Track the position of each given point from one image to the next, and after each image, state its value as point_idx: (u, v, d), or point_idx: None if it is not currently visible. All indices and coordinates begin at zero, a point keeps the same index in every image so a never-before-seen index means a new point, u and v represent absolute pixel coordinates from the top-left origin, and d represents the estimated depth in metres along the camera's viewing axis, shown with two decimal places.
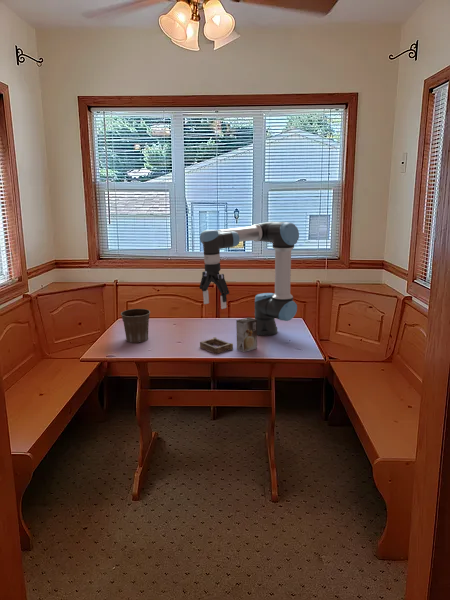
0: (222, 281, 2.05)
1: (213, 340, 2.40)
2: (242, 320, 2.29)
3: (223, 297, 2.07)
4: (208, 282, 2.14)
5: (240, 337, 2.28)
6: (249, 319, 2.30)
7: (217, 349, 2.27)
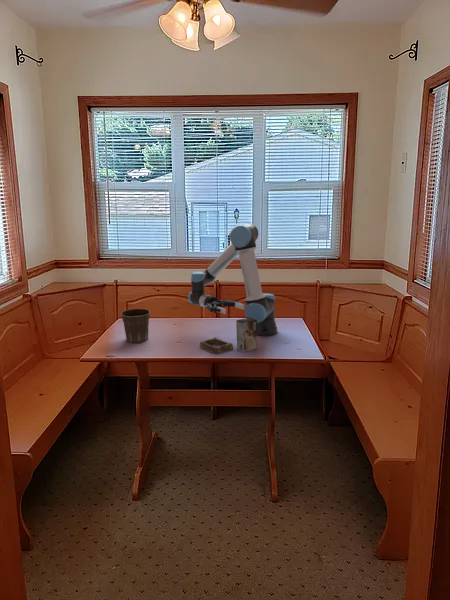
0: (208, 307, 2.40)
1: (213, 340, 2.40)
2: (242, 320, 2.29)
3: None
4: (225, 304, 2.45)
5: (240, 337, 2.28)
6: (249, 319, 2.30)
7: (217, 349, 2.27)
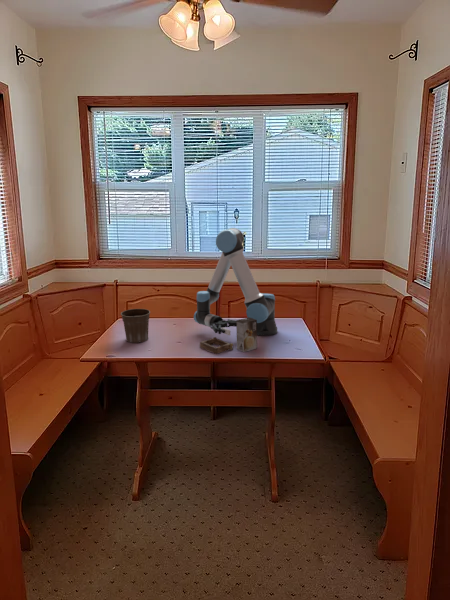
0: (212, 328, 2.39)
1: (213, 340, 2.40)
2: (242, 320, 2.29)
3: None
4: (230, 324, 2.44)
5: (240, 337, 2.28)
6: (249, 319, 2.30)
7: (217, 349, 2.27)
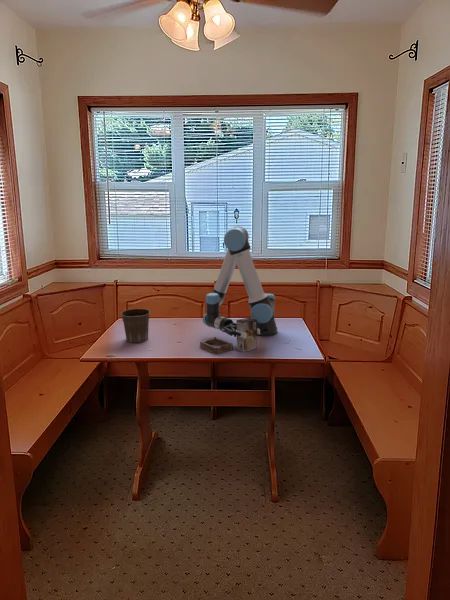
0: (225, 331, 2.33)
1: (213, 340, 2.40)
2: (242, 319, 2.29)
3: None
4: None
5: (240, 337, 2.28)
6: (249, 319, 2.30)
7: (217, 349, 2.27)
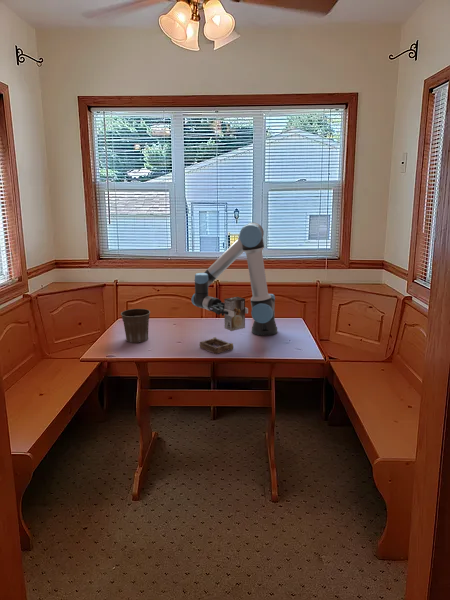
0: (213, 310, 2.31)
1: (213, 340, 2.40)
2: (230, 298, 2.27)
3: (224, 313, 2.26)
4: None
5: (228, 316, 2.26)
6: (237, 298, 2.28)
7: (217, 349, 2.27)
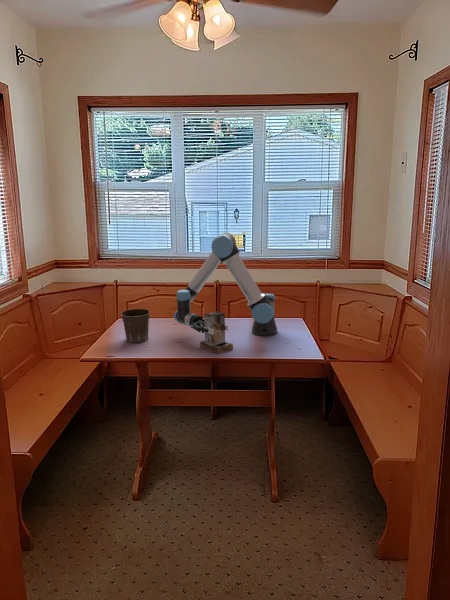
0: (194, 327, 2.34)
1: None
2: (210, 313, 2.30)
3: None
4: None
5: None
6: (217, 313, 2.31)
7: (217, 349, 2.27)
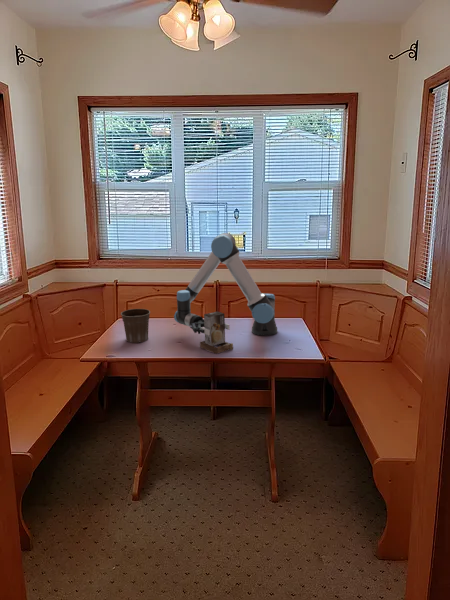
0: (192, 328, 2.34)
1: None
2: (210, 313, 2.30)
3: None
4: None
5: None
6: (217, 313, 2.31)
7: (217, 349, 2.27)
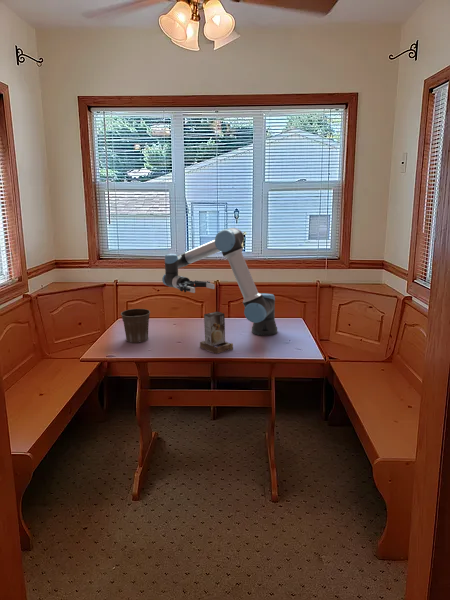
0: (179, 287, 2.44)
1: None
2: (210, 313, 2.30)
3: None
4: (196, 285, 2.49)
5: (208, 331, 2.29)
6: (217, 313, 2.31)
7: (217, 349, 2.27)
